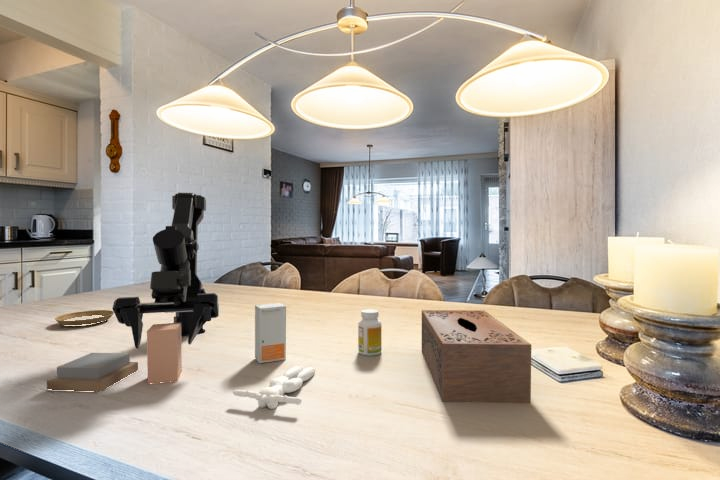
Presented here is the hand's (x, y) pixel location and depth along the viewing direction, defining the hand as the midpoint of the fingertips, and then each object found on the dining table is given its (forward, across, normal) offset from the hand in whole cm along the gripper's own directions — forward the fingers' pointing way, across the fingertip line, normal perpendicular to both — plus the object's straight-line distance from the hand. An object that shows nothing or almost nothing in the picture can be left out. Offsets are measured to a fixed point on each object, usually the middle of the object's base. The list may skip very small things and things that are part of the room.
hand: (163, 345), depth 71 cm
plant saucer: (-35, -33, +45) cm, 66 cm away
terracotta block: (+4, 0, +6) cm, 7 cm away
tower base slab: (+2, -12, +8) cm, 15 cm away
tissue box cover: (+14, +57, -4) cm, 59 cm away
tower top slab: (+1, -12, +6) cm, 14 cm away
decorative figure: (+13, +22, -3) cm, 25 cm away
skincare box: (+1, +20, +9) cm, 22 cm away
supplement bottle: (+2, +42, +8) cm, 43 cm away
